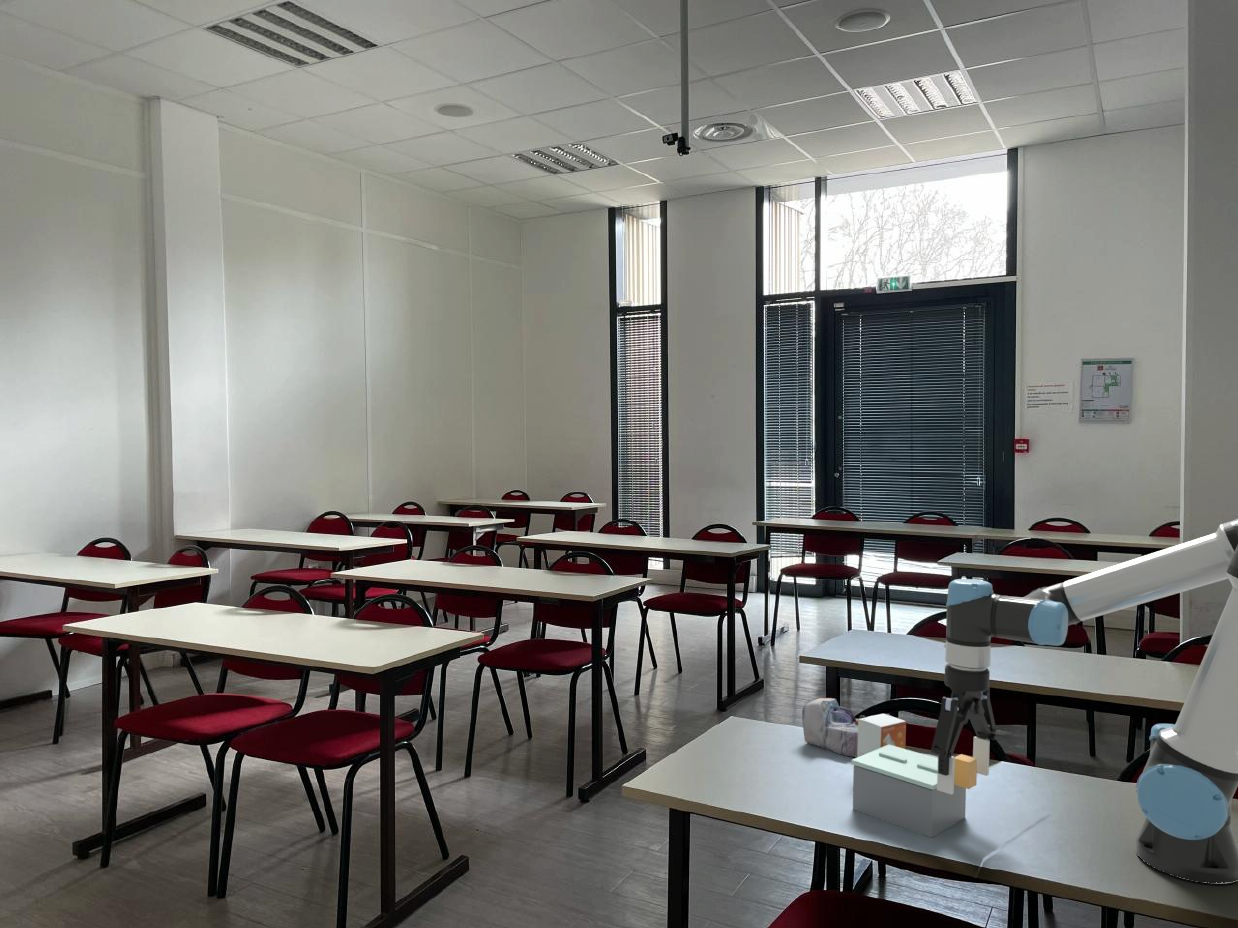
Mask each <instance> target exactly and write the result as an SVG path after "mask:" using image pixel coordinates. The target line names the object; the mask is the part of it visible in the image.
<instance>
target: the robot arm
mask: <svg viewBox="0 0 1238 928" xmlns="http://www.w3.org/2000/svg"><path fill="white" fill-rule="evenodd" d="M1227 579H1228V580H1229V582H1230V584H1231V586H1232V589H1231V591H1230V594H1229V595H1228V598H1227V601H1226V603H1225V606H1224V608H1223V611H1222V612H1221V615H1220V617H1219V619H1218V622H1217V625H1216V627H1215V629H1214V632H1213V634H1212V635H1211V639H1210V641H1209V644H1208V646H1207V648H1206V651H1205V653H1204V655H1203V658H1202V660H1201V663H1200V664H1199V668H1198V670H1197V672H1196V675H1195V677H1194V679H1193V681H1192V684H1191V686H1190V688H1189V691H1188V693H1187V696H1186V698H1185V701H1184V703H1183V705H1182V708H1181V710H1180V713H1179V715H1178V717H1177V719H1176V722H1175V724H1174V723H1156V724H1154V725H1153V726H1152V727H1151V729H1150V730H1151V731H1150V736H1149V737H1148V738H1149V741H1150V749H1149V750H1150V751H1149V757H1148V759H1147V761H1146V764H1145V766H1144V768H1143V771H1142V773H1140V775H1139V776H1138V778H1137V782H1136V786H1135V788H1136V798H1137V802H1138V805H1139V808H1140V809H1141V811H1142V813H1143V815H1144V816H1145V817H1144V819H1143V823H1142V825H1141V827H1140V829H1139V831H1138V834H1137V837H1136V840H1135V841H1136V842H1135V843H1136V844H1135V854H1136V853H1137V854H1136V855H1139V857H1140V858H1141V859H1142V860H1144V861H1145V862H1146V863H1148V864H1150V865H1151V866H1152V867H1155V868H1156V869H1159V870H1161V871H1164V872H1166V873H1168V874H1172V875H1174V876H1178V877H1181V878H1185V879H1189V880H1193V881H1198V882H1207V883H1208V882H1209V883H1216V882H1217V883H1221V882H1223V883H1225V882H1233V881H1236V880H1238V845H1237V841H1236V839H1235V836H1234V833H1233V830H1232V826H1231V824H1232V823H1231V821H1232V800H1233V797H1234V795H1235V793H1236V791H1237V788H1238V518H1236V519H1232V520H1230V521H1227V522H1224V523H1220V524H1219V526H1218V527H1217V530H1216V531H1215V532H1213V533H1210V534H1208V535H1205V536H1201V537H1198V538H1195V539H1194V538H1193V539H1192V540H1188V541H1186V542H1182V543H1180V544H1177V545H1174V546H1169V547H1166V548H1165V549H1161V550H1158V551H1155V552H1151V553H1148V554H1145V555H1142V556H1139V557H1135V558H1133V559H1130V560H1126V561H1123V562H1120V563H1117V564H1116V565H1115V564H1114V565H1111V566H1109V567H1106V568H1105V567H1104V568H1102V569H1099V570H1096V571H1093V572H1090V573H1087V574H1083V575H1080V576H1077V577H1074V578H1072V579H1068V580H1065V581H1064V582H1060V583H1056V584H1052V585H1050V586H1043V587H1039V588H1037V589H1034V590H1031V591H1030V593H1028V594H1026V595H1025V596H1023V597H1020V596H1010V595H1009V596H1008V595H1002V594H999V593H998V594H997V593H994V590H993V584H992V583H990V582H988V581H986V580H980V579H975V578H973V579H972V578H971V579H970V578H958V579H953V580H952V581H950V582H949V584H948V587H947V589H948V590H947V598H946V599H947V600H946V603H945V607H946V620H945V621H946V626H945V627H946V630H945V631H946V632H945V633H946V634H945V635H946V636H945V643H944V645H943V647H944V648H945V662H946V665H944V685H945V686H947V687H948V688H950V690H951V691H952V692H951V694H950V697H946V696H943V697H942V699H941V704H940V705H941V706H940V711H939V717H938V720H937V725H936V729H935V732H934V736H933V740H932V744H931V749H930V752H931V753H932V754H935V755H937V758H938V774H937V790H939V791H942V792H945V793H948V794H951V795H952V794H954V768H955V757H956V756H953V754H954V751H955V748H956V745H957V743H958V741H959V738H960V735H961V733H962V730H963V727H964V725H967V724H968V722H969V720H970V723H971V725H972V728H973V730H974V732H975V734H976V736H973V748H972V757H973V758H977V774H979V775H982V776H986V777H987V776H989V774H990V773H989V771H990V768H989V767H990V740H993V741H995V740H996V738H997V735H996V732H997V727H996V723H995V718H994V713H993V708H992V702H991V698H990V696H991V695H990V694H991V693H990V692H991V691H990V675H991V674H990V670H989V667H990V666H991V651H992V649H991V648H992V647H991V644H992V643H991V639H992V638H999V639H1006V640H1011V641H1017V642H1018V641H1020V642H1024V643H1025V642H1026V643H1032V644H1037V645H1039V646H1045V645H1047V646H1056V647H1058V646H1062V645H1064V643H1065V641H1066V638H1067V635H1068V631H1069V630H1068V629H1069V628H1068V627H1069V626H1071V625H1075V624H1079V623H1081V622H1083V621H1087V620H1090V619H1093V618H1097V617H1100V616H1103V615H1106V614H1107V615H1108V614H1111V613H1113V612H1117V611H1121V610H1124V609H1128V608H1131V607H1135V606H1139V605H1141V604H1146V603H1149V602H1152V601H1155V600H1159V599H1163V598H1166V597H1169V596H1173V595H1176V594H1180V593H1183V592H1188V591H1190V590H1194V589H1196V588H1200V587H1203V586H1208V585H1210V584H1215V583H1217V582H1221V581H1224V580H1227ZM1139 857H1138V858H1139ZM1140 858H1139V859H1140ZM1141 859H1140V860H1141ZM1142 860H1141V861H1142ZM1146 863H1145V864H1146ZM1151 866H1150V867H1151ZM1152 867H1151V868H1152ZM1156 869H1155V870H1156ZM1161 871H1160V872H1161ZM1168 874H1167V875H1168ZM1174 876H1173V877H1174Z"/></svg>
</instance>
